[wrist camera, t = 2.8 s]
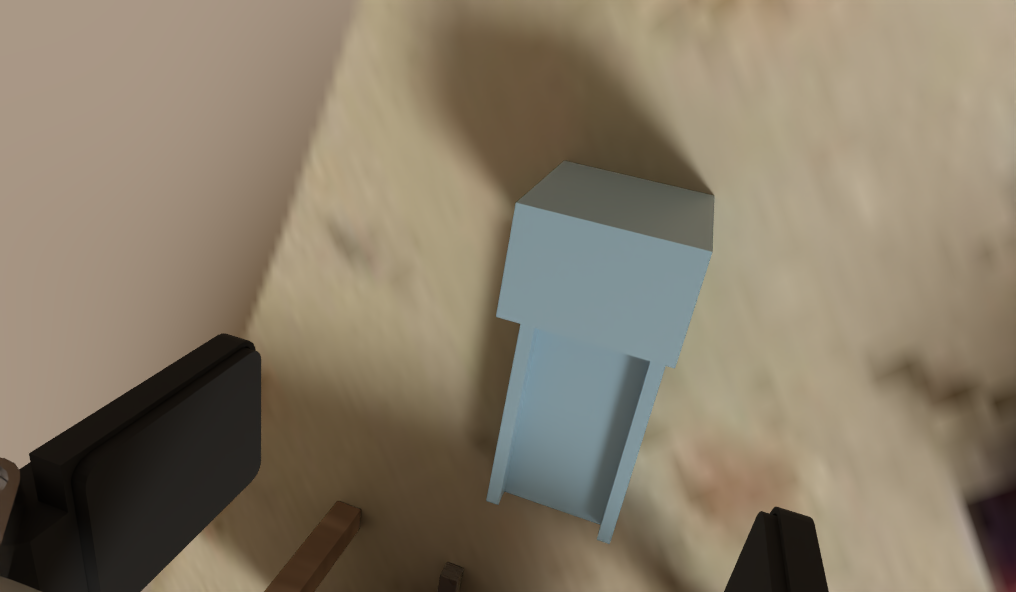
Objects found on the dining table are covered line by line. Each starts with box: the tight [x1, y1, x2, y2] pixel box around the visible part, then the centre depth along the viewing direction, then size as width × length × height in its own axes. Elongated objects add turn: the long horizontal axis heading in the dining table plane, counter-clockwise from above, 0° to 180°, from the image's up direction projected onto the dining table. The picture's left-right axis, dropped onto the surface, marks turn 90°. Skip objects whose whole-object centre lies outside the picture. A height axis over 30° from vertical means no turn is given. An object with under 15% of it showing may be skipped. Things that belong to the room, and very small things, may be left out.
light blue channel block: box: [486, 161, 714, 544], centre depth 26 cm, size 16×6×7 cm, turn 171°
